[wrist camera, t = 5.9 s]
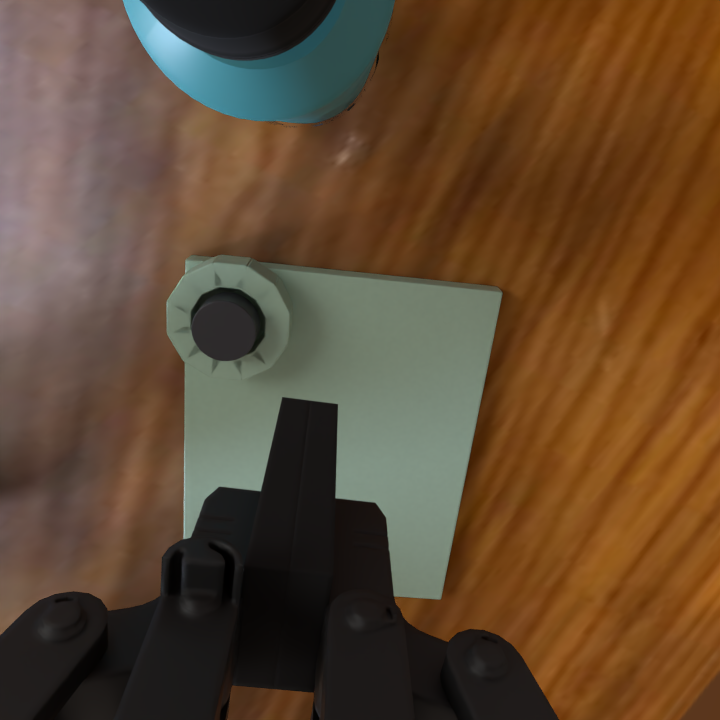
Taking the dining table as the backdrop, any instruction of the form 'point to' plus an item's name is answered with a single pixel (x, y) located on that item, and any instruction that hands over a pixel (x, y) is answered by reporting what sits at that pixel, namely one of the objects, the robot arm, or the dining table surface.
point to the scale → (344, 392)
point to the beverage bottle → (265, 52)
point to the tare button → (226, 326)
